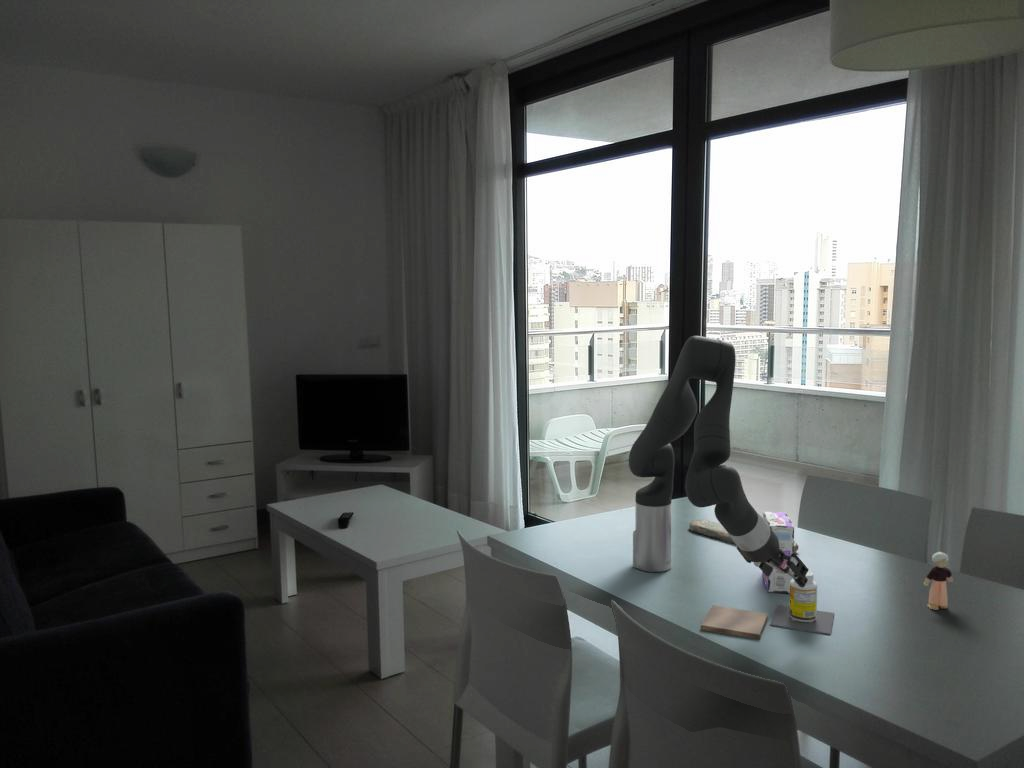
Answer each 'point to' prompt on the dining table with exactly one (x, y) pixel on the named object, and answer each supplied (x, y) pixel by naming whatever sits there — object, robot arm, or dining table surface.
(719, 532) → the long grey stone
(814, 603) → the supplement bottle
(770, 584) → the candy box
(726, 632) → the walnut board
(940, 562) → the grandmother figurine
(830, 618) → the tile
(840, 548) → the dining table surface
